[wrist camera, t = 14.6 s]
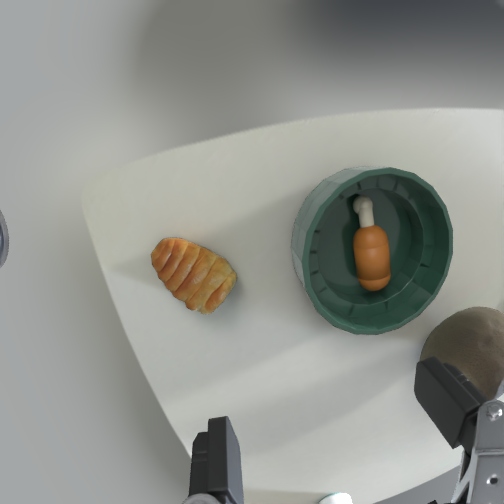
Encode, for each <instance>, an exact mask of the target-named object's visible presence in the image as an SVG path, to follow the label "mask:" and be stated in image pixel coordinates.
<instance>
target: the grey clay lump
mask: <svg viewBox="0 0 504 504" xmlns="http://www.w3.org/2000/svg"><path fill="white" fill-rule="evenodd" d="M431 356H435V357H436V358H437V359H438V360H439V361H440V362H441V363H442V364H443V363H446V362H447V363H449V364H451V365H453V366H456V367H457V368H458V369H459V370H460V371H461V372H462V373H463V375H465V376H466V377H467V378H468V380H469V381H471V382H472V383H473V384H474V385H475V386H476V387H477V388H478V390H479V391H480V392H481V393H482V394H483V395H484V396H485V397H486V398H487V399H488V400H489V401H490V400H496V399H498V398H499V397H500V396H501V395H502V394H503V393H504V314H503V313H501V312H499V311H497V310H494V309H491V308H487V307H472V308H468V309H465V310H463V311H459V312H457V313H455V314H454V315H452V316H450V317H449V318H447V319H445V320H444V321H443V322H441V323H440V324H439V325H438V326H437V327H436V328H435V329H434V330H433V332H432V333H431V334H430V336H429V337H428V339H427V340H426V343H425V345H424V347H423V350H422V353H421V357H420V361H422V360H424V359H427V358H429V357H431Z"/></svg>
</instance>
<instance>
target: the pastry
mask: <svg viewBox="0 0 504 504" xmlns="http://www.w3.org/2000/svg"><path fill="white" fill-rule="evenodd" d="M151 258H152V265H153V267H154V268H155V270H156V272H157V274H158V277H159V279H160V280H162V281H163V282H164V284H165V286H166V288H167V289H168V290H170V291H171V292H172V294H173V296H174V297H175V298H177V299H178V300H180V301H183V302H185V304H186V307H187V308H188V309H190V310H196V311H199V312H201V313H202V314H210V313H212V312H214V310H215V309H216V308H218V307H219V305H220V304H221V303H223V301H224V300H225V298H226V296H227V295H228V294H229V293H230V291H231V289H232V288H233V286H234V285H235V283H236V281H237V275H236V273H235V272H234V270H233V269H232V268H231V266H230V265H229V263H228V261H226V260H225V259H224V258H222V257H221V256H219V255H218V254H216V253H213V252H211V251H210V250H208V249H206V248H204V247H201V246H199V245H196V244H194V243H191V242H189V241H186V240H184V239H180V238H166V239H163V240H162V241H161V242H160V243H159V244H158V245H157V247H156V248H155V249H154V250H153V252H152V253H151Z"/></svg>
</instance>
